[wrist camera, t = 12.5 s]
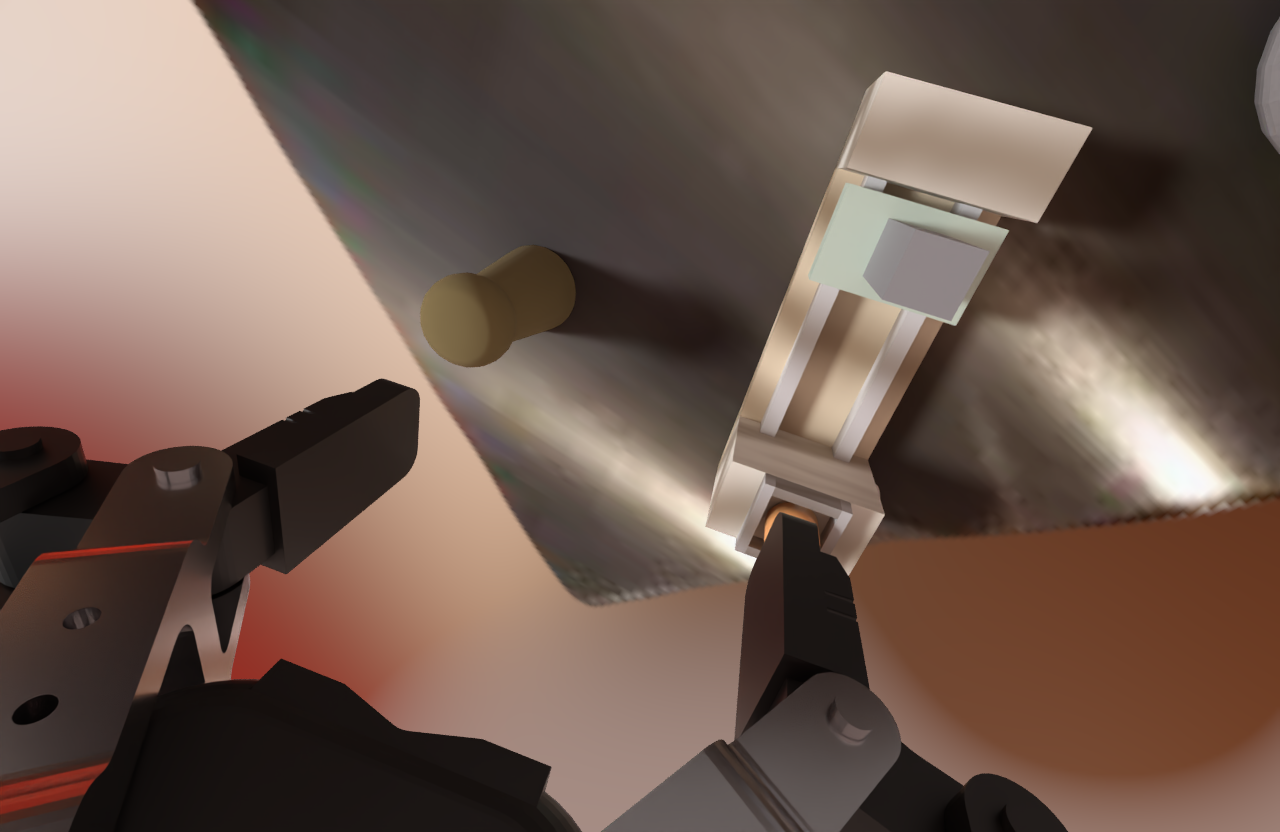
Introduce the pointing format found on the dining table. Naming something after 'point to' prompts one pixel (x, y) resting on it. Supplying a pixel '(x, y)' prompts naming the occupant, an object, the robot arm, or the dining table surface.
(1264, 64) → the coffee pot
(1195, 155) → the dining table surface
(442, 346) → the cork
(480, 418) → the dining table surface
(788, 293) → the rail
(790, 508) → the button
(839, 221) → the carriage
